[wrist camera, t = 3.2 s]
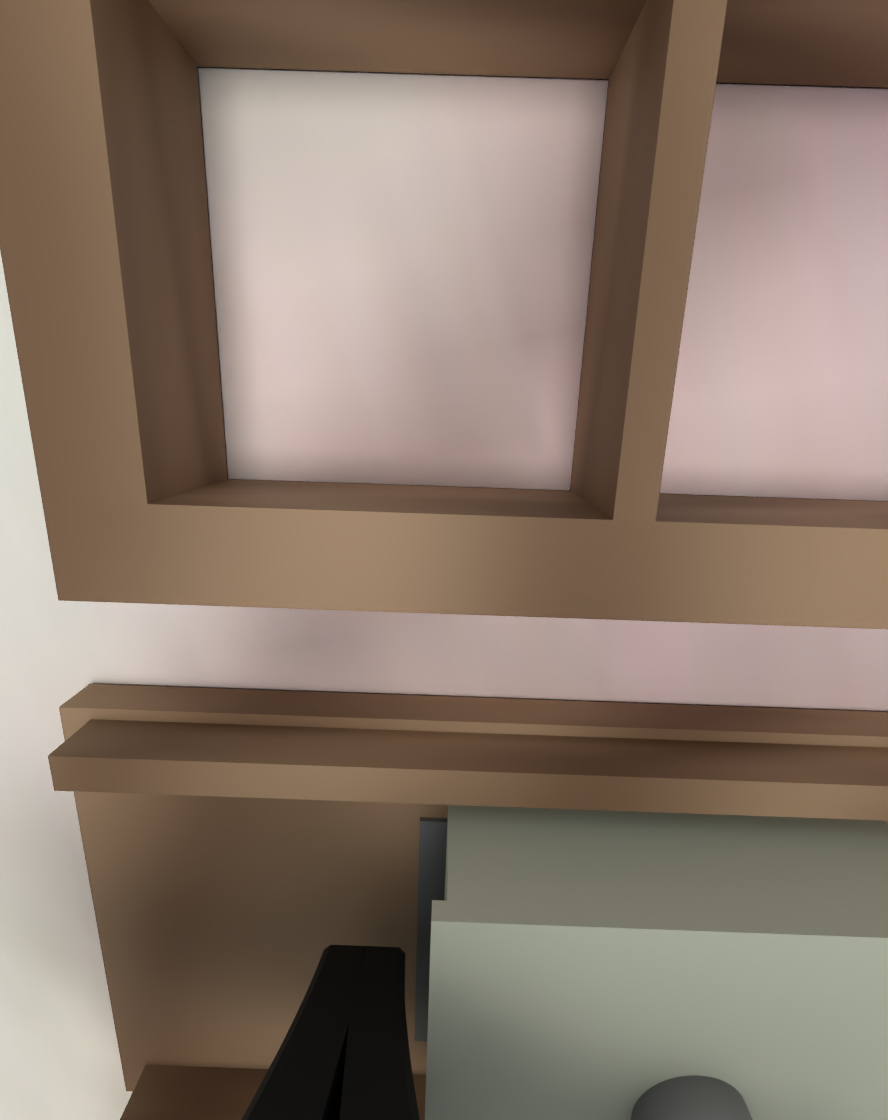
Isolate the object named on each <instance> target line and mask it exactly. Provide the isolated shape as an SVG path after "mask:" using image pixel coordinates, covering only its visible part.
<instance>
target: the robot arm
mask: <svg viewBox="0 0 888 1120" xmlns="http://www.w3.org/2000/svg"><path fill="white" fill-rule="evenodd" d="M405 954H406V953H405V952H404V951H403V950H402V949H400V948H399V947H380V946H354V945H329V946H328V947H327V948H325V949H324V951H323V953H322V956H321V958H320V961H319V964H318V966H317V969H316V971H315V974H314V976H313V978H312V981H311V983H310V985H309V988H308V990H307V992H306V994H305V996H304V999H303V1001H302V1003H301V1005H300V1007H299V1009H298V1012H297V1014H296V1016H295V1018H294V1020H293V1022H292V1024H291V1026H290V1028H289V1030H288V1032H287V1034H286V1036H285V1038H284V1040H283V1042H282V1044H281V1046H280V1048H279V1050H278V1052H277V1054H276V1056H275V1058H274V1060H273V1062H272V1063H271V1065H270V1067H269V1069H268V1071H267V1073H266V1075H265V1077H264V1079H263V1081H262V1082H261V1084H260V1086H259V1088H258V1090H257V1092H256V1094H255V1096H254V1098H253V1100H252V1101H251V1103H250V1105H249V1107H248V1109H247V1110H246V1112H245V1114H244V1116H243V1118H242V1119H241V1120H420V1118H419V1112H418V1106H417V1099H416V1093H415V1087H414V1080H413V1074H412V1067H411V1059H410V1051H409V1042H408V1032H407V1022H406V1010H405Z"/></svg>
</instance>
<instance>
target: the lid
mask: <svg viewBox="0 0 888 1120" xmlns="http://www.w3.org/2000/svg"><path fill="white" fill-rule="evenodd" d="M425 1120H888V824H887V823H886V822H885V821H884V820H856V819H828V818H801V817H773V816H745V815H718V814H690V813H663V812H635V811H607V810H580V809H552V808H524V807H497V806H469V805H448V822H447V847H446V872H445V897H444V901H440V900H432V914H431V943H430V973H429V1004H428V1035H427V1065H426V1096H425Z"/></svg>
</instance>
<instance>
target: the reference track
mask: <svg viewBox="0 0 888 1120" xmlns="http://www.w3.org/2000/svg"><path fill="white" fill-rule="evenodd" d="M59 710H60V716H61V722H62V727H63V733H64V739H65V742H64V743H63V744H61V745H60V746H59V747H58V748H57V749H56V750H54V751H53V752H52V753H51V754H50V755H49V756H48V759H49V764H50V770H51V775H52V780H53V786H54V791H74V796H75V802H76V807H77V813H78V819H79V824H80V830H81V836H82V841H83V847H84V853H85V859H86V864H87V870H88V876H89V881H90V887H91V893H92V898H93V904H94V910H95V915H96V921H97V927H98V933H99V938H100V944H101V950H102V955H103V961H104V967H105V972H106V978H107V984H108V990H109V995H110V1001H111V1007H112V1012H113V1018H114V1024H115V1029H116V1035H117V1041H118V1047H119V1052H120V1058H121V1064H122V1069H123V1075H124V1081H125V1086H126V1091H133V1093H132V1095H131V1097H130V1100H129V1102H128V1104H127V1106H126V1108H125V1110H124V1112H123V1115H122V1117H121V1119H120V1120H241V1119H242V1118H243V1116H244V1114H245V1112H246V1110H247V1109H248V1107H249V1105H250V1103H251V1101H252V1100H253V1098H254V1096H255V1094H256V1092H257V1090H258V1088H259V1086H260V1084H261V1082H262V1081H263V1079H264V1077H265V1075H266V1073H267V1071H268V1069H269V1067H270V1065H271V1063H272V1062H273V1060H274V1058H275V1056H276V1054H277V1052H278V1050H279V1048H280V1046H281V1044H282V1042H283V1040H284V1038H285V1036H286V1034H287V1032H288V1030H289V1028H290V1026H291V1024H292V1022H293V1020H294V1018H295V1016H296V1014H297V1012H298V1009H299V1007H300V1005H301V1003H302V1001H303V999H304V996H305V994H306V992H307V990H308V988H309V985H310V983H311V981H312V978H313V976H314V974H315V971H316V969H317V966H318V964H319V961H320V958H321V956H322V953H323V951H324V949H325V948H327V947H328V946H329V945H354V946H380V947H399V948H400V949H402V950H403V951H404V952H405V953H406V954H405V1010H406V1022H407V1032H408V1042H409V1051H410V1059H411V1067H412V1074H413V1080H414V1087H415V1093H416V1099H417V1106H418V1112H419V1118H420V1120H425V1096H426V1065H427V1035H428V1004H429V973H430V943H431V914H432V900H440V901H444V897H445V872H446V847H447V822H448V805H469V806H497V807H524V808H552V809H580V810H607V811H635V812H663V813H690V814H718V815H745V816H773V817H801V818H828V819H856V820H884V821H885V822H886V823H887V824H888V712H873V711H845V710H817V709H788V708H760V707H732V706H703V705H675V704H647V703H618V702H590V701H562V700H534V699H505V698H477V697H449V696H420V695H392V694H364V693H335V692H307V691H279V690H251V689H222V688H194V687H166V686H137V685H109V684H89V685H88V686H86V687H85V688H84V689H82V690H81V691H80V692H79V693H77V694H76V695H75V696H73V697H72V698H71V699H69V700H68V701H67V702H65V703H64V704H63V705H61V706H60V707H59Z"/></svg>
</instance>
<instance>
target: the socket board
mask: <svg viewBox="0 0 888 1120" xmlns="http://www.w3.org/2000/svg"><path fill="white" fill-rule="evenodd" d="M197 66H198V67H231V68H263V69H296V70H329V71H362V72H394V73H427V74H460V75H492V76H525V77H558V78H591V79H609V84H608V95H607V105H606V116H605V126H604V137H603V148H602V158H601V169H600V180H599V190H598V201H597V212H596V222H595V233H594V244H593V254H592V265H591V276H590V286H589V297H588V307H587V318H586V329H585V339H584V350H583V361H582V371H581V382H580V393H579V403H578V414H577V425H576V435H575V446H574V457H573V467H572V478H571V488H570V491H567V490H538V489H508V488H478V487H449V486H419V485H389V484H360V483H330V482H300V481H271V480H241V479H228V477H227V464H226V450H225V436H224V423H223V409H222V396H221V382H220V369H219V355H218V341H217V328H216V314H215V301H214V287H213V273H212V260H211V246H210V233H209V219H208V206H207V192H206V178H205V165H204V151H203V138H202V124H201V111H200V97H199V83H198V70H197ZM716 82H722V83H754V84H787V85H820V86H853V87H885V88H888V0H0V250H1V256H2V262H3V268H4V274H5V280H6V286H7V292H8V298H9V304H10V310H11V316H12V323H13V329H14V335H15V341H16V347H17V353H18V359H19V365H20V371H21V377H22V383H23V389H24V395H25V401H26V407H27V413H28V419H29V425H30V431H31V437H32V443H33V449H34V455H35V461H36V467H37V473H38V479H39V485H40V491H41V497H42V503H43V509H44V515H45V521H46V527H47V533H48V539H49V546H50V552H51V558H52V564H53V570H54V576H55V582H56V588H57V594H58V600H65V601H94V602H122V603H151V604H180V605H209V606H238V607H267V608H295V609H324V610H353V611H382V612H411V613H439V614H468V615H497V616H526V617H555V618H584V619H612V620H641V621H670V622H699V623H728V624H756V625H785V626H814V627H843V628H872V629H888V501H864V500H834V499H804V498H775V497H745V496H715V495H686V494H659V493H660V485H661V478H662V471H663V464H664V456H665V449H666V442H667V435H668V427H669V420H670V413H671V406H672V398H673V391H674V384H675V377H676V369H677V362H678V355H679V348H680V340H681V333H682V326H683V319H684V311H685V304H686V297H687V290H688V282H689V275H690V268H691V260H692V253H693V246H694V239H695V231H696V224H697V217H698V210H699V202H700V195H701V188H702V181H703V173H704V166H705V159H706V152H707V144H708V137H709V130H710V123H711V115H712V108H713V101H714V94H715V86H716Z"/></svg>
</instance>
